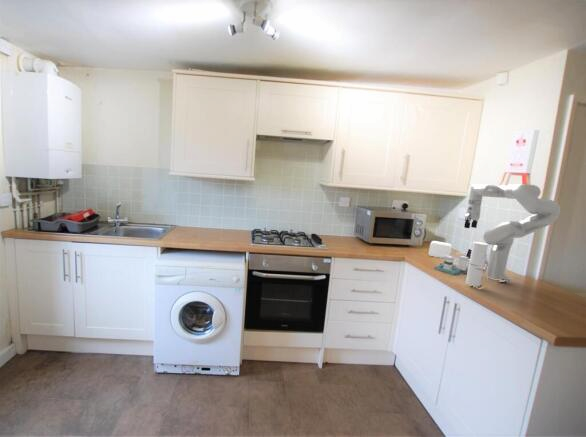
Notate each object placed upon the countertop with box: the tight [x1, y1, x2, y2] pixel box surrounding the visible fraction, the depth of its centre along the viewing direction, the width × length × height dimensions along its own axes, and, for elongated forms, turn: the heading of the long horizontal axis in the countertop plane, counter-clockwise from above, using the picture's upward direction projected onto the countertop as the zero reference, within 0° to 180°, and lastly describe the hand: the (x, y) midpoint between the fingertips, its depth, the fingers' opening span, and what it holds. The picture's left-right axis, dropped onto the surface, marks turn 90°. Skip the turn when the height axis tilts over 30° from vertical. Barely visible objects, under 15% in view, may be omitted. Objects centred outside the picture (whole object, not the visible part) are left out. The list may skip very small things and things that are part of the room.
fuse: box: [457, 255, 470, 270], centre depth 194 cm, size 4×4×10 cm
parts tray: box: [434, 264, 461, 276], centre depth 193 cm, size 12×9×3 cm
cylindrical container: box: [465, 241, 489, 287], centre depth 170 cm, size 7×7×25 cm
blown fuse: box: [443, 255, 455, 271], centre depth 193 cm, size 4×4×10 cm
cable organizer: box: [428, 240, 453, 259], centre depth 232 cm, size 15×11×12 cm
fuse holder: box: [439, 262, 468, 275], centre depth 198 cm, size 16×8×3 cm, turn 34°
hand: (470, 227), depth 205 cm, fingers open, 9 cm apart
